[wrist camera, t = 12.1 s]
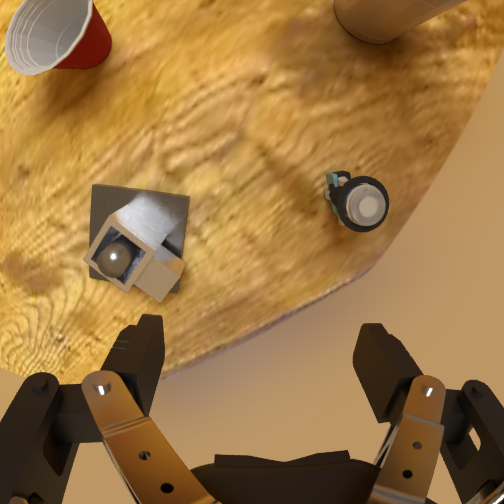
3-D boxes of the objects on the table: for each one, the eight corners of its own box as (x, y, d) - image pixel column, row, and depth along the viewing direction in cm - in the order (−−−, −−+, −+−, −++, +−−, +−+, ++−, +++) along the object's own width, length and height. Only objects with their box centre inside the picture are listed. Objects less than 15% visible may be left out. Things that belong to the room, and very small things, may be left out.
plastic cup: (42, 75, 29) (-14, 61, 18) (84, 5, 27) (40, -30, 15) (100, 102, 32) (49, 88, 20) (147, 26, 29) (115, -15, 18)
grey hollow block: (103, 243, 36) (83, 260, 30) (127, 204, 35) (109, 215, 29) (164, 289, 38) (153, 312, 33) (191, 253, 37) (184, 272, 31)
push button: (359, 219, 38) (396, 242, 29) (319, 227, 38) (346, 253, 29) (353, 166, 36) (390, 173, 26) (311, 172, 36) (337, 182, 26)
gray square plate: (95, 183, 35) (60, 195, 26) (189, 196, 36) (176, 211, 28) (92, 274, 38) (62, 305, 30) (178, 290, 40) (165, 327, 31)
